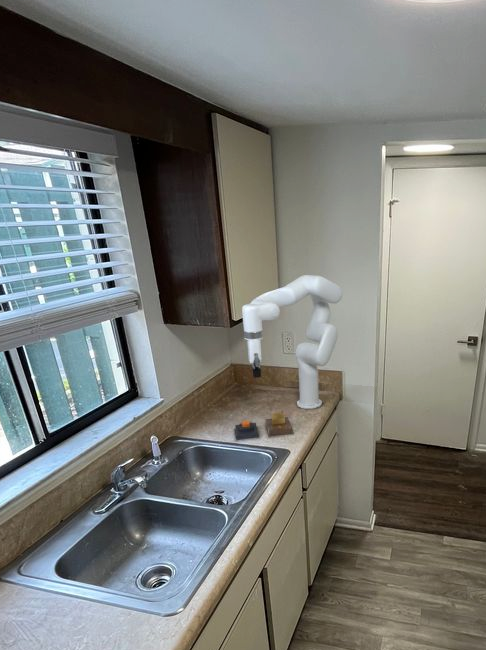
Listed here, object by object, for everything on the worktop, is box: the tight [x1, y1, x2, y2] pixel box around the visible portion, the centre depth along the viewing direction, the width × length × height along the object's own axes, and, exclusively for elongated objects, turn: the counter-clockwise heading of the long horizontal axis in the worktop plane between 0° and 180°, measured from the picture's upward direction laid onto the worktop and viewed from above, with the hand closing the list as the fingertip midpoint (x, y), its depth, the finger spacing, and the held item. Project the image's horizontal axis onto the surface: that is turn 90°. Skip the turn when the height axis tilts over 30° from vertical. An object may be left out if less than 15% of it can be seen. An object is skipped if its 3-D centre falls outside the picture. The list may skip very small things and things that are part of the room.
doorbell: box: [234, 421, 259, 441], centre depth 188 cm, size 11×9×4 cm
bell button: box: [241, 420, 251, 427], centre depth 187 cm, size 4×4×2 cm
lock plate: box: [265, 416, 293, 438], centre depth 192 cm, size 12×10×3 cm
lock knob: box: [270, 410, 286, 425], centre depth 190 cm, size 6×2×5 cm, turn 105°
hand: (257, 376), depth 188 cm, fingers closed
